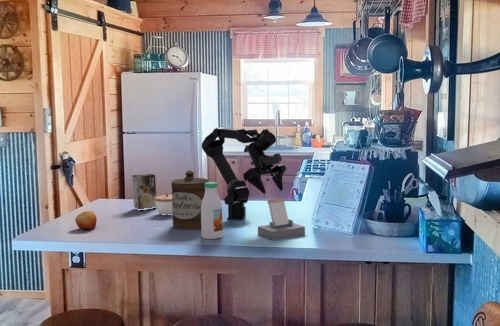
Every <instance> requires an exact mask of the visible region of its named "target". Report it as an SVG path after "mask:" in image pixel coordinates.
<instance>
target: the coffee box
mask: <svg viewBox="0 0 500 326" xmlns="http://www.w3.org/2000/svg"><path fill="white" fill-rule="evenodd" d="M131 177H132V178H131V179H132V191H133V192H132V195H133V208H134V207H135V208H137V209H144V208H152V207H156V205H155V197H157V187H156V185H157V183H156V174H154V173H144V174H143V173H141V174H132V175H131Z"/></svg>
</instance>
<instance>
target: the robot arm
mask: <svg viewBox="0 0 500 326" xmlns="http://www.w3.org/2000/svg"><path fill="white" fill-rule="evenodd" d="M225 139H233V140H236V141H237V142H239V143H242V144H246V145H245V146H244V149H243V152H244V153H248V155H249V158H250V159H251V162H250V164H251V166H254V167H253V168H252V167H251V168H248V170H247V171H245V172H244V173H243V174H242V175H243V176H242V178H243V179H241V180H239V179H238V177H237V175H236V174H235V172H234V170H233V169H232V167H231V165H230V163H229V162H228V160H227V158H226V157H225V156H226V155H225V154H224V143H225V142H226V140H225ZM276 142H277V138H276V135H274V134H273V132H272V131H270V130H269V129H267V128H264V129H262V130H261V132H259V131H258V129H257V128H256V127H255V128H242V129H233V128H225V127H215V128H214V129H212V132H210V133H209V134H208V135H207V136H205V137H204V139H203V140H202V142H201V149H202V151H203V152H204V153H205V155H207V157H209V158H211V159H212V161H213V162H214V164H215V166H216V167H217V169H218V171H219V173H220V175H221V176H222V178H223V180H224V182H225V183H226V185H227V187H226V192H227V195H226V196H225V197H224V198H223V200H224V204H225V205H227V212H228V216H227V217H226V219H227V220H244V219H245V217H247V215H246V209H247V208H246V206H245V204H247V203H248V202H249V201H248V200H249V197H250V190H249V186H248V185H247V184H246V182H247V183H250V185H252V186H253V187H255V188H256V189H257V190H259V191H260V192H261V193H262V194H264V195H265V194H266V189H265V186H264V183H263V181H262V176H264V175H270V176H271V179H272V181H273V182H274V183H275V185H276V187H277V188H278V189H279V190H280V192H282V191H283V190H284V188H283V187H284V186H283V185H284V184H283V175H284V174H285V173H286V171H287V167H286V165H285V164H281V163H280V162H282V156H281V154H280V153H279V152H277V153H275V154H273V155H271V156H270V155H268V154H265V151H267V150H268V149H270V147H272V146H273V145H274V144H275V143H276ZM247 144H248V145H247Z"/></svg>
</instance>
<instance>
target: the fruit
mask: <svg viewBox="0 0 500 326" xmlns="http://www.w3.org/2000/svg"><path fill="white" fill-rule="evenodd" d="M97 218H98V217H97V216H96V214H95V212H94V211H92V210H86V211H82V212H80V213H78V214H77V216H76V217H75V224H76V226H77V228H79V230H81V229H91V230H93V229H95V228H96V226H97V220H98V219H97Z"/></svg>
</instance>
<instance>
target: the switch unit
mask: <svg viewBox="0 0 500 326" xmlns="http://www.w3.org/2000/svg"><path fill="white" fill-rule="evenodd" d="M288 222H289V225H286V226H280V227H275V223H273V222H272V221H269V224H265V225H259V226H257V235H259V236H261V237H263V238H266V239H269V240H271V241H275V240H276V241H277V240H282V239H283V240H284V239H288V238H294V237H299V236H305V235H306V227H305V226H304V225H301V224H298V223H295V222H294V221H293V219H290V218H288Z"/></svg>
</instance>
